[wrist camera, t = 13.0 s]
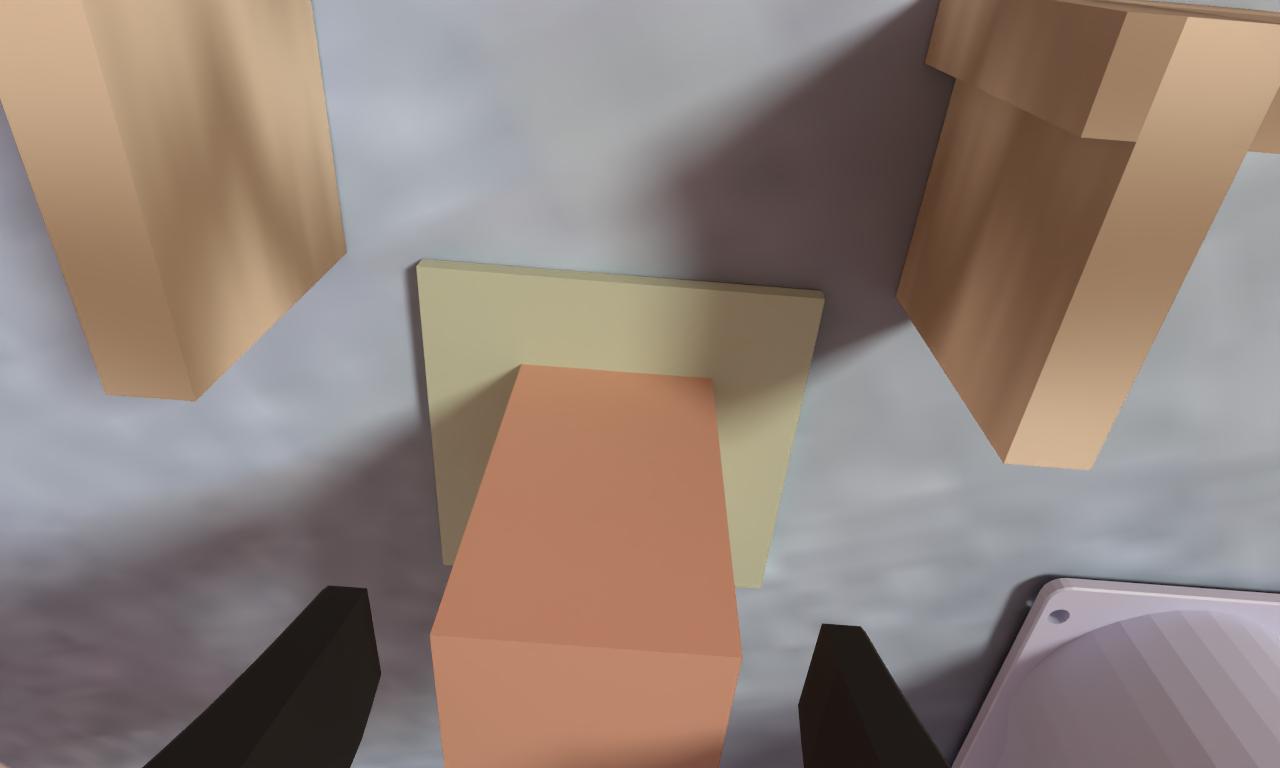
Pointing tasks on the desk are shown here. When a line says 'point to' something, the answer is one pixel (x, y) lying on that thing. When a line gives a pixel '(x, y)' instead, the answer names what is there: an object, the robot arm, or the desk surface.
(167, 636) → the desk surface
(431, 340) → the sage mat
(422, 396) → the desk surface
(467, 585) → the terracotta block
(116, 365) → the wooden channel
